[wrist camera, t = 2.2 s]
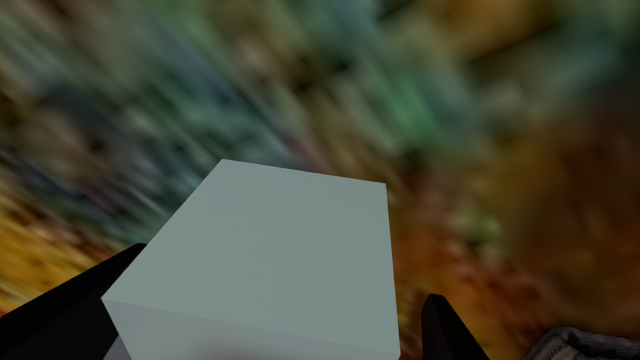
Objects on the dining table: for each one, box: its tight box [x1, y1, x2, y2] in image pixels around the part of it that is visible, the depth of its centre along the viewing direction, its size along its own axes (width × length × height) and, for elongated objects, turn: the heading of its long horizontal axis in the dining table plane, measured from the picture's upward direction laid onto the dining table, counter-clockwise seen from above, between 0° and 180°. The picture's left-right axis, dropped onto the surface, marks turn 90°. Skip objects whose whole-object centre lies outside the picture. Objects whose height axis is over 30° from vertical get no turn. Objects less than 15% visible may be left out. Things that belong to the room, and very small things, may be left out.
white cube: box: [101, 159, 400, 360], centre depth 9 cm, size 6×6×6 cm
